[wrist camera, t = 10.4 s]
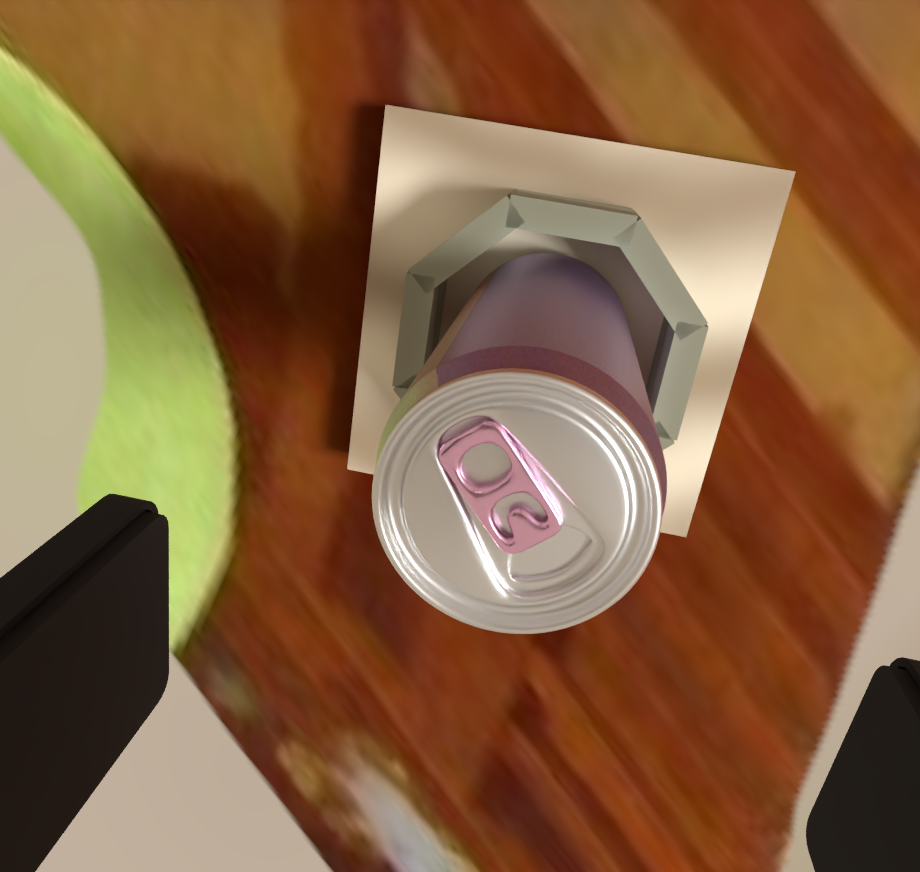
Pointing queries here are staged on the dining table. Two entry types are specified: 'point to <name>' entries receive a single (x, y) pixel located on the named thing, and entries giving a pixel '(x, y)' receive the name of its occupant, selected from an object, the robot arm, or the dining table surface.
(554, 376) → the beverage can
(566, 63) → the dining table surface
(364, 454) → the can holder
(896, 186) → the dining table surface
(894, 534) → the dining table surface
